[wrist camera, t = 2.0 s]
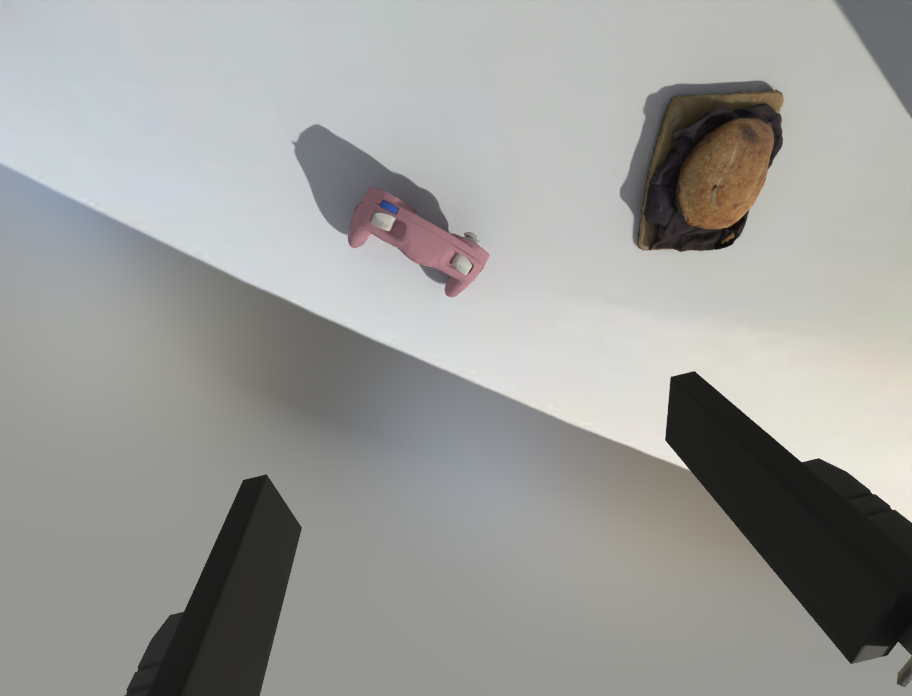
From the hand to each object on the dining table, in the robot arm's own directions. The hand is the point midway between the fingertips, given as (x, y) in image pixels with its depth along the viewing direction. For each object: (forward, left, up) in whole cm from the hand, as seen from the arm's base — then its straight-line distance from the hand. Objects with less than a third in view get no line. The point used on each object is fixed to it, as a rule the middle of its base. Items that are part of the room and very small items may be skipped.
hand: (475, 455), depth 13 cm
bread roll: (-13, +13, -22) cm, 29 cm away
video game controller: (+2, -2, -22) cm, 22 cm away
